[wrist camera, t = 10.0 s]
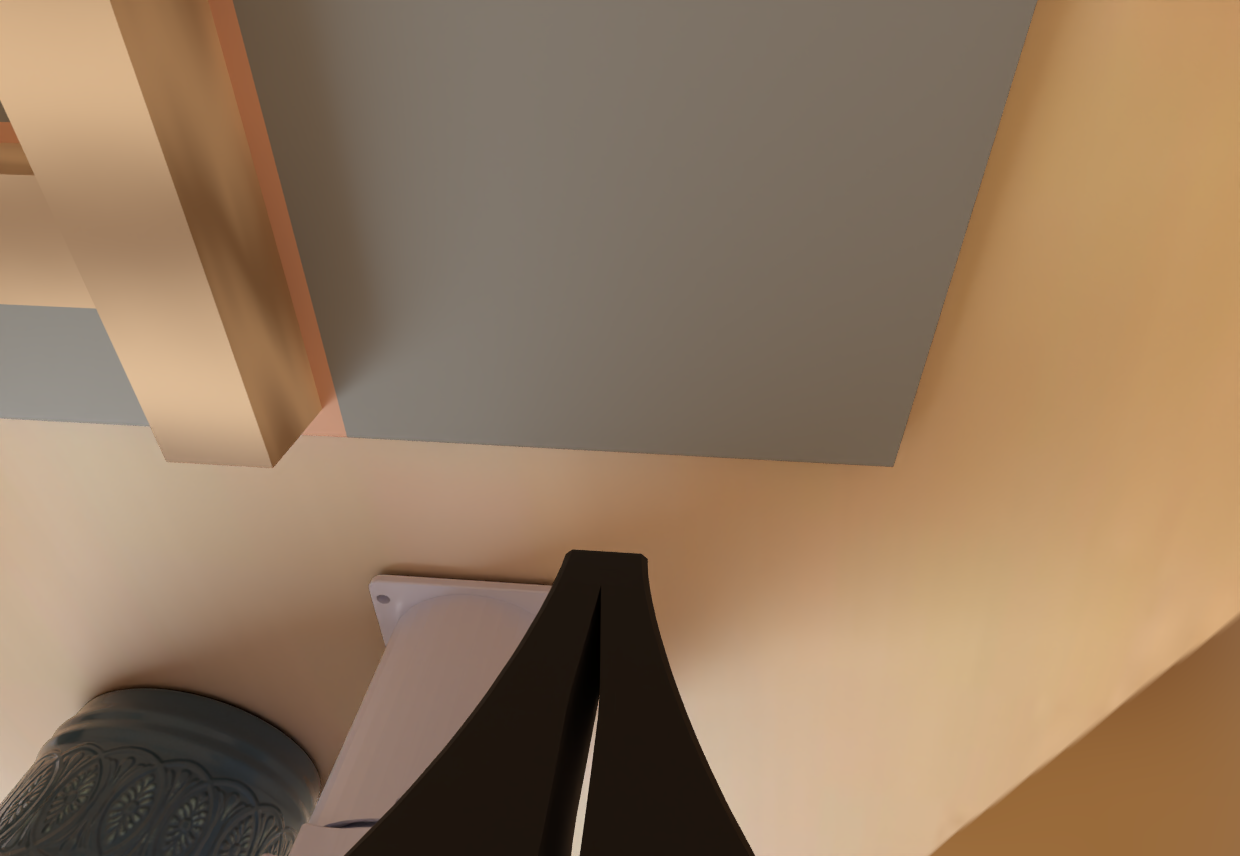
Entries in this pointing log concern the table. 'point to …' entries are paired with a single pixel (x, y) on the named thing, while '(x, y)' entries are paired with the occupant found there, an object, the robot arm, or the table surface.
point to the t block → (151, 219)
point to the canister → (161, 782)
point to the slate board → (597, 218)
